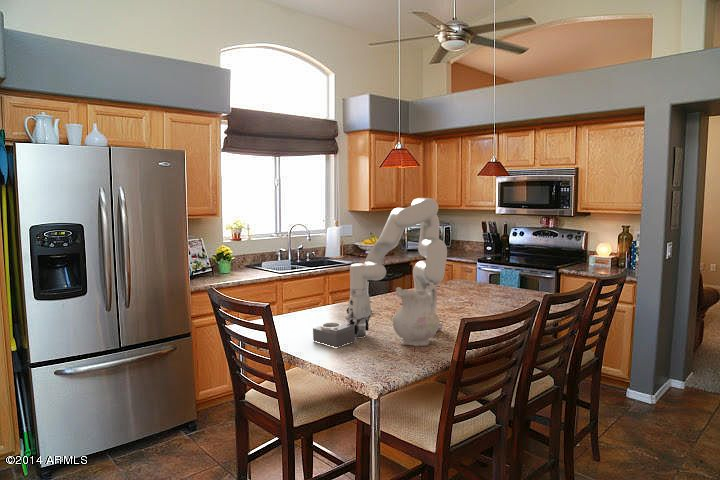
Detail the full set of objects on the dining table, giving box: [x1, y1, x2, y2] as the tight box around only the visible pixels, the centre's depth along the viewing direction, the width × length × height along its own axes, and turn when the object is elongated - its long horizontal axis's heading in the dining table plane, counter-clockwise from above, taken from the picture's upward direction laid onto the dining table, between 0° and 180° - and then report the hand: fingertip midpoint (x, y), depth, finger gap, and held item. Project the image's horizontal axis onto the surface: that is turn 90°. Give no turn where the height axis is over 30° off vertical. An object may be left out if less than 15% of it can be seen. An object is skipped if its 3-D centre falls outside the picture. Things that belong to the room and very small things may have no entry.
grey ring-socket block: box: [312, 321, 356, 347], centre depth 209 cm, size 14×11×8 cm
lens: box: [355, 318, 367, 338], centre depth 217 cm, size 6×6×8 cm
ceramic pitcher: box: [392, 281, 440, 347], centre depth 207 cm, size 22×20×25 cm
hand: (359, 331), depth 217 cm, fingers open, 6 cm apart
